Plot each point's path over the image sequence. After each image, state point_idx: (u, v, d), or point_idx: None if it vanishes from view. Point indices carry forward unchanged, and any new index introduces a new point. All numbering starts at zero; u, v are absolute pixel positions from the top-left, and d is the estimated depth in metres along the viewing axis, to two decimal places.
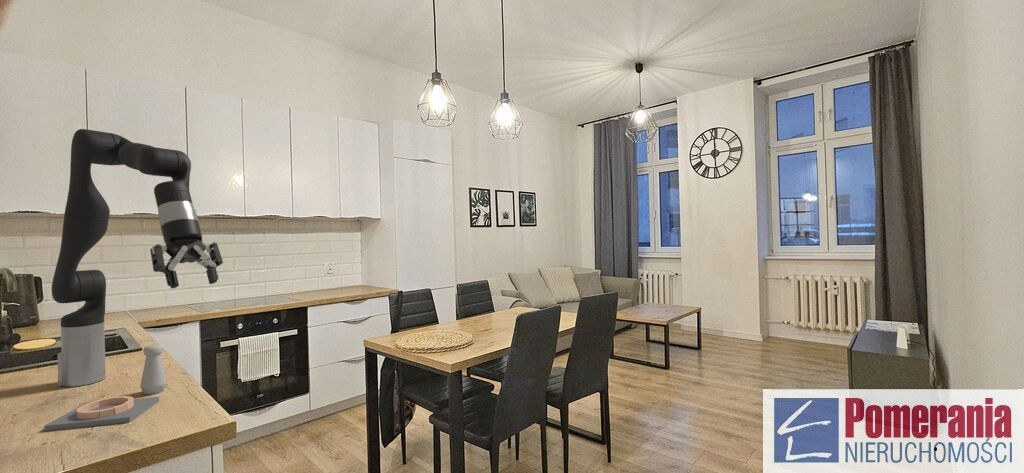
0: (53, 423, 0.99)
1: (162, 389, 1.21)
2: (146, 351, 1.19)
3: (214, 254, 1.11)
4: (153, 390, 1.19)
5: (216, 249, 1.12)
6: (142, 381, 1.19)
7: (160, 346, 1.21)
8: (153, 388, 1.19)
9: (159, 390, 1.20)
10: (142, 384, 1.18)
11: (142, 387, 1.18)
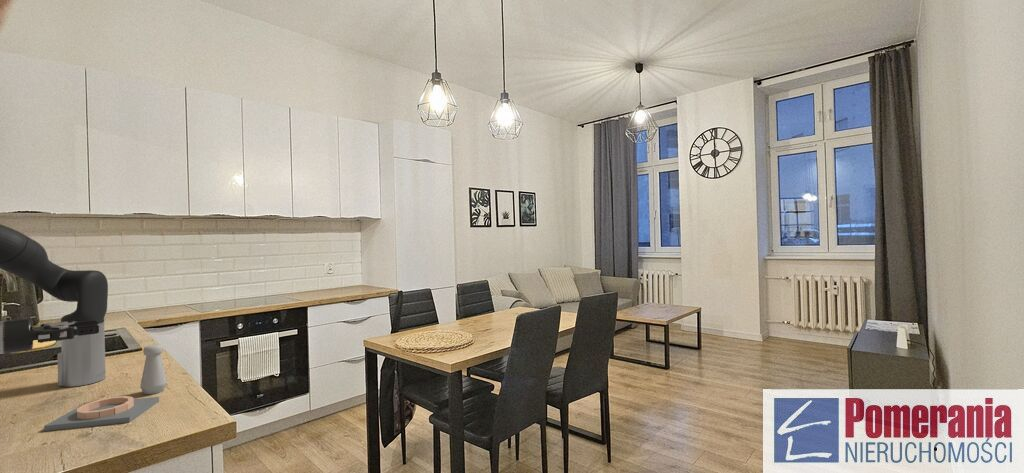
0: (53, 423, 0.99)
1: (162, 389, 1.21)
2: (146, 351, 1.19)
3: None
4: (153, 390, 1.19)
5: (49, 340, 1.03)
6: (142, 381, 1.19)
7: (160, 346, 1.21)
8: (153, 388, 1.19)
9: (159, 390, 1.20)
10: (142, 384, 1.18)
11: (142, 387, 1.18)
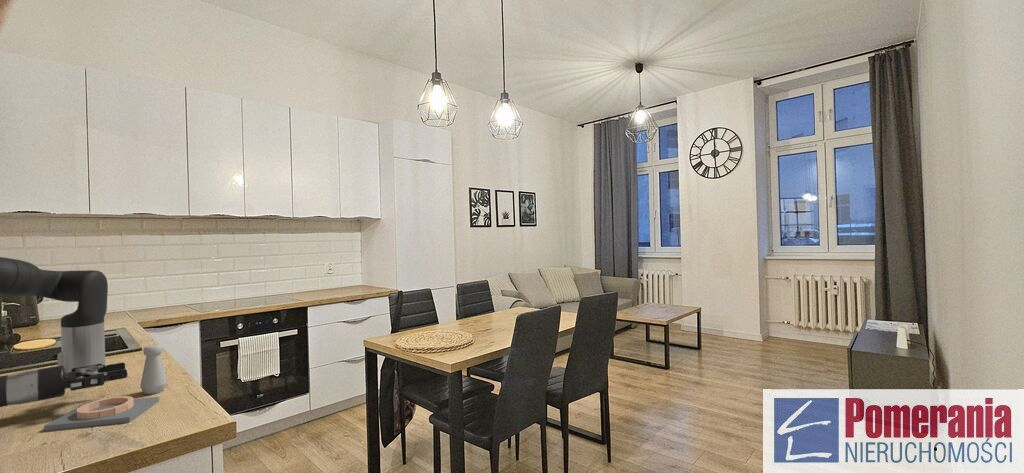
0: (53, 423, 0.99)
1: (162, 389, 1.21)
2: (146, 351, 1.19)
3: None
4: (153, 390, 1.19)
5: None
6: (142, 381, 1.19)
7: (160, 346, 1.21)
8: (153, 388, 1.19)
9: (159, 390, 1.20)
10: (142, 384, 1.18)
11: (142, 387, 1.18)
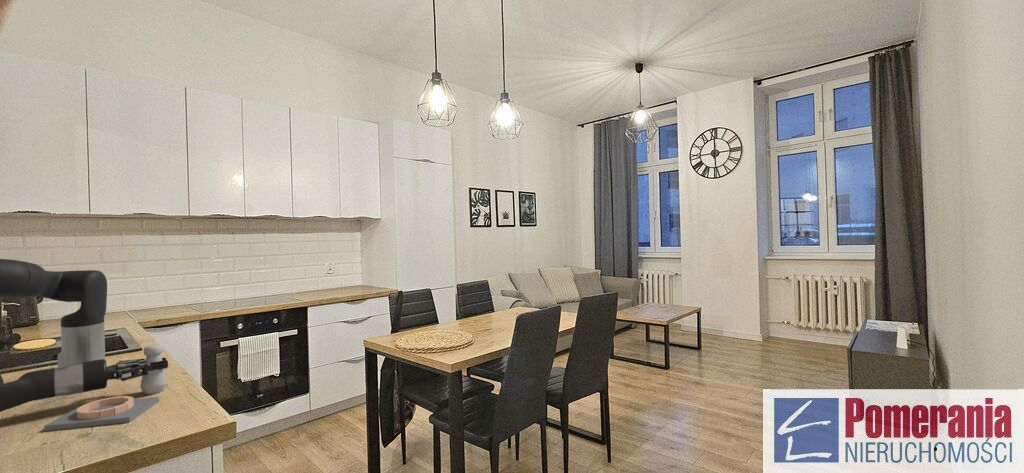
0: (53, 423, 0.99)
1: (162, 389, 1.21)
2: (147, 351, 1.19)
3: None
4: (153, 390, 1.19)
5: None
6: (142, 381, 1.19)
7: (160, 346, 1.21)
8: (153, 388, 1.19)
9: (159, 390, 1.20)
10: (142, 384, 1.18)
11: (142, 387, 1.18)
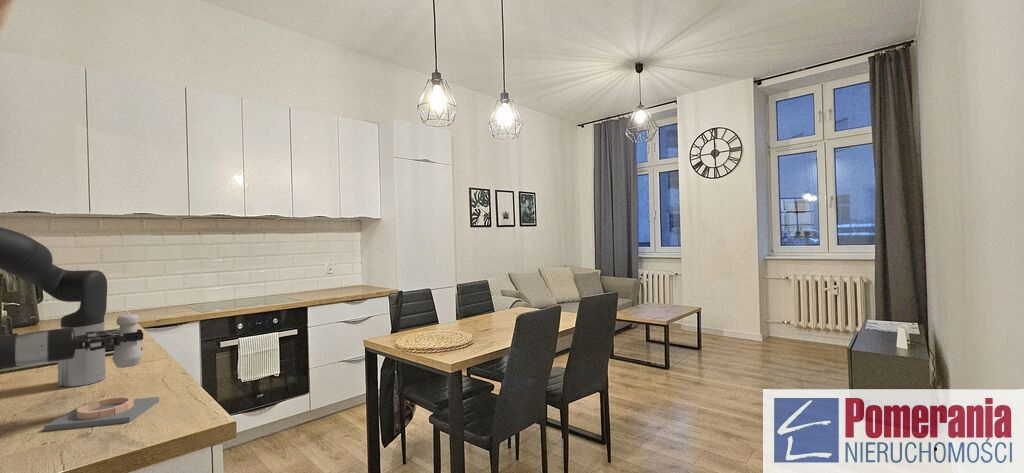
0: (53, 423, 0.99)
1: (136, 362, 1.12)
2: (120, 320, 1.10)
3: None
4: (126, 363, 1.10)
5: (99, 348, 1.05)
6: (114, 353, 1.10)
7: (135, 316, 1.12)
8: (126, 360, 1.10)
9: (133, 363, 1.11)
10: (115, 356, 1.09)
11: (114, 359, 1.09)
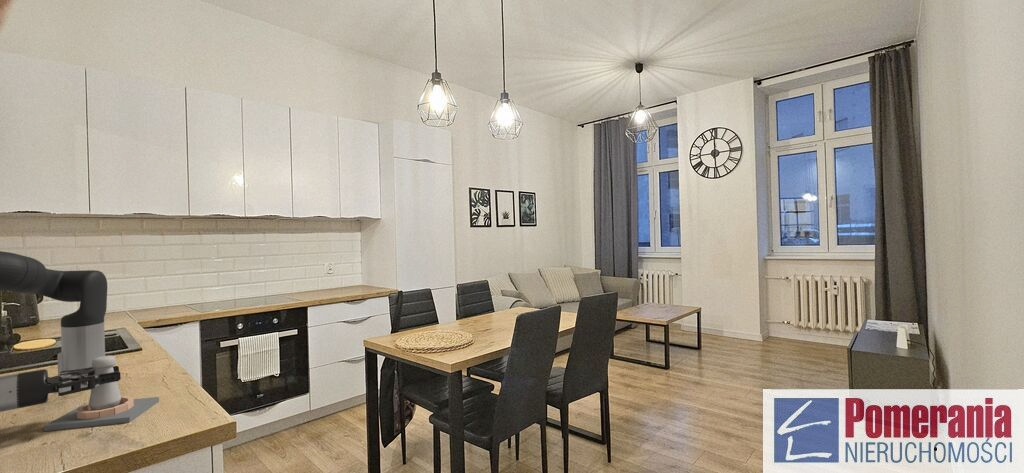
0: (53, 423, 0.99)
1: None
2: (95, 364, 1.03)
3: None
4: (104, 408, 1.04)
5: None
6: (90, 398, 1.03)
7: (112, 358, 1.06)
8: (104, 406, 1.03)
9: None
10: (91, 402, 1.03)
11: (90, 405, 1.03)
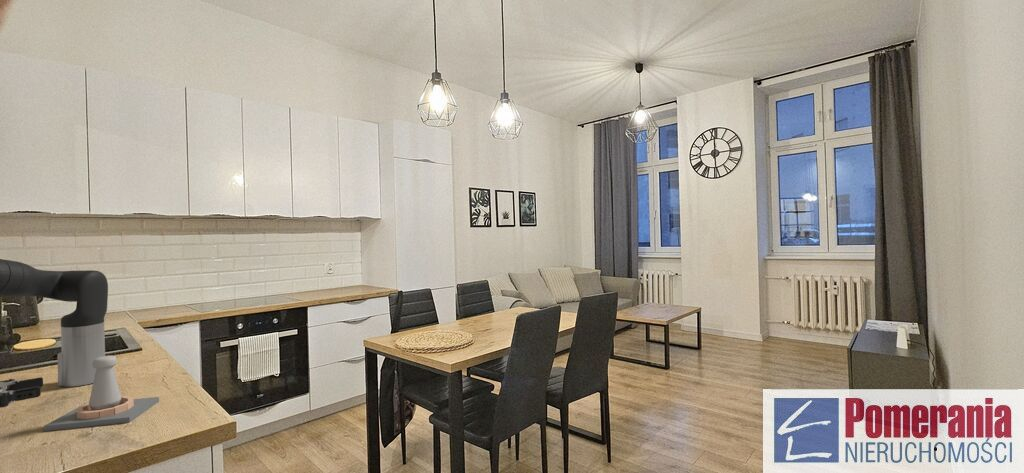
0: (53, 423, 0.99)
1: None
2: (96, 364, 1.03)
3: None
4: (104, 408, 1.04)
5: None
6: (91, 398, 1.03)
7: (113, 358, 1.06)
8: (104, 406, 1.03)
9: None
10: (91, 402, 1.03)
11: (91, 405, 1.03)
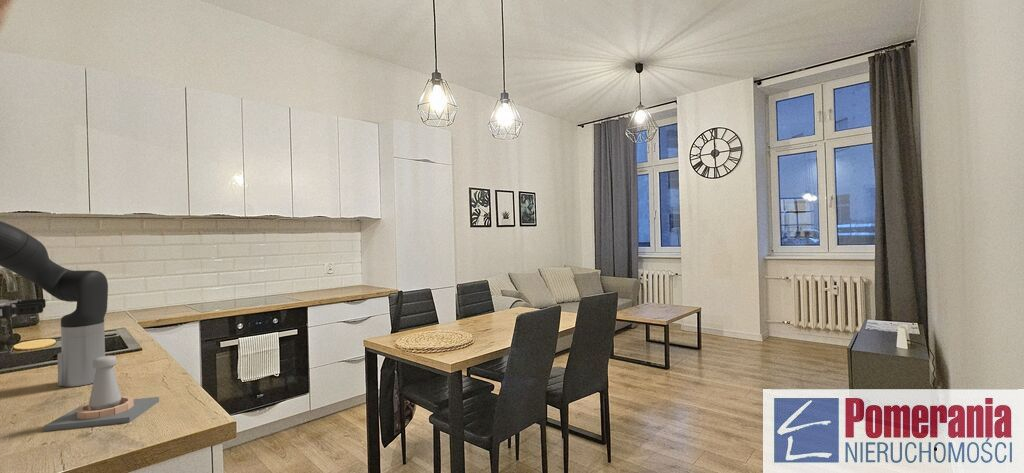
0: (53, 423, 0.99)
1: None
2: (96, 364, 1.03)
3: None
4: (104, 408, 1.04)
5: None
6: (91, 398, 1.03)
7: (113, 358, 1.06)
8: (104, 406, 1.03)
9: None
10: (91, 402, 1.03)
11: (91, 405, 1.03)
